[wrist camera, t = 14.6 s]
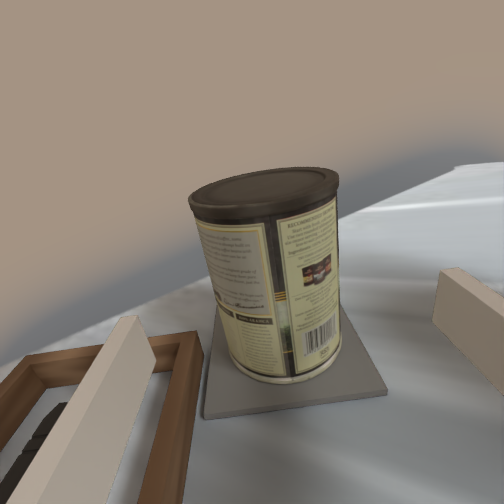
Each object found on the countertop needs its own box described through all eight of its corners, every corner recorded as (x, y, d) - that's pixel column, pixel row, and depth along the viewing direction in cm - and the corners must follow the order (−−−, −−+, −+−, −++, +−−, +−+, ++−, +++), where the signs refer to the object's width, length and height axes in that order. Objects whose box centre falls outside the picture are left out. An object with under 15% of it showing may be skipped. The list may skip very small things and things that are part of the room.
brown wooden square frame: (204, 355, 25) (196, 330, 24) (161, 641, 11) (137, 617, 10) (42, 379, 26) (26, 355, 24) (-193, 683, 12) (-258, 665, 10)
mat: (331, 292, 31) (331, 287, 31) (387, 394, 19) (387, 389, 19) (218, 308, 31) (216, 304, 31) (205, 420, 20) (203, 414, 19)
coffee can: (259, 295, 32) (237, 170, 26) (353, 313, 26) (354, 162, 20) (203, 362, 24) (154, 205, 18) (321, 407, 19) (308, 206, 13)
